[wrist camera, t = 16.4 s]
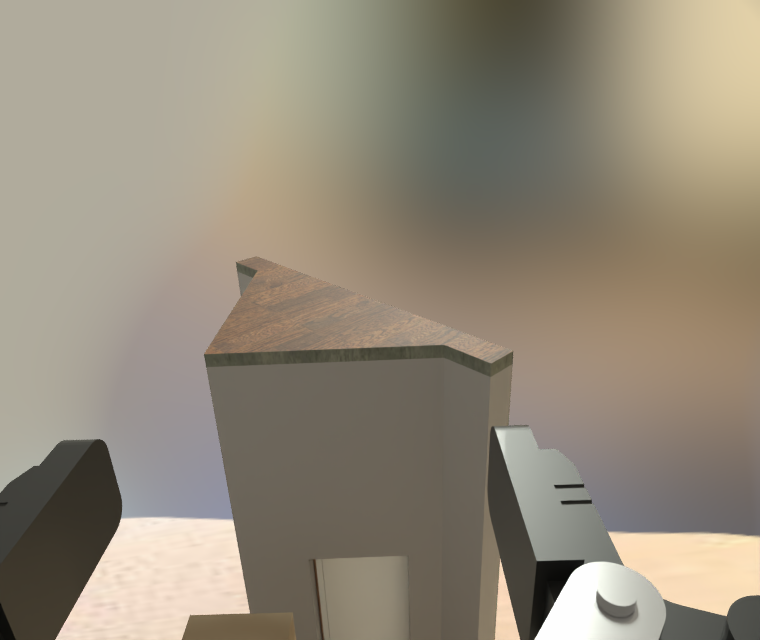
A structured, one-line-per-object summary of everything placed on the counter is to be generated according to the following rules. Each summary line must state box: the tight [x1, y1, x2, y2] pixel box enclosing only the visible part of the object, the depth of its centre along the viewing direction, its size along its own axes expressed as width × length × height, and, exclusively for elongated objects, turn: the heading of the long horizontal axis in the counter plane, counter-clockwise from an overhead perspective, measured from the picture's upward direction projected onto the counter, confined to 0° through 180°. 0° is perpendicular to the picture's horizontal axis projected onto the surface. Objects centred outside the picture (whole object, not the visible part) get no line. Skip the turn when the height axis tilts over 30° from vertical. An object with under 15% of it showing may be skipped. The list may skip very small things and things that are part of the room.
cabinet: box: [204, 257, 513, 640], centre depth 35 cm, size 21×10×28 cm, turn 43°
